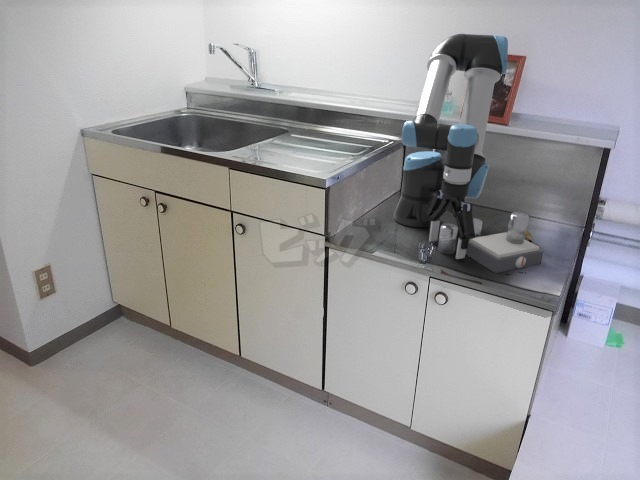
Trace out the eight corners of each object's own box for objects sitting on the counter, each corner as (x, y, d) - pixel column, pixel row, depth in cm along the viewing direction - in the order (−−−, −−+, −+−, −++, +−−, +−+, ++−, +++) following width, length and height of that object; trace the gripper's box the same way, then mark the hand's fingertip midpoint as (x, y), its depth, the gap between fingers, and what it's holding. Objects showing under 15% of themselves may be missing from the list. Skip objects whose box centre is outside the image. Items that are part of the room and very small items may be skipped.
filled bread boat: (517, 231, 172) (520, 219, 170) (535, 249, 159) (538, 236, 157) (502, 231, 171) (504, 218, 170) (519, 249, 158) (521, 236, 157)
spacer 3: (502, 238, 152) (507, 213, 149) (515, 236, 154) (520, 211, 151) (514, 245, 148) (519, 219, 145) (527, 242, 150) (533, 217, 147)
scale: (462, 252, 154) (465, 237, 152) (506, 244, 161) (509, 230, 159) (497, 274, 142) (500, 257, 140) (542, 264, 148) (546, 248, 146)
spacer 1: (434, 248, 156) (437, 224, 153) (447, 246, 158) (451, 222, 155) (444, 255, 152) (447, 230, 149) (457, 253, 154) (461, 228, 151)
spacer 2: (458, 242, 161) (462, 219, 158) (471, 240, 163) (475, 217, 159) (468, 249, 157) (472, 224, 153) (481, 246, 159) (486, 222, 155)
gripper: (420, 170, 155) (412, 235, 163) (474, 195, 134) (462, 268, 143) (440, 168, 158) (432, 232, 166) (496, 192, 137) (483, 264, 146)
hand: (446, 249), depth 155 cm, fingers open, 12 cm apart
